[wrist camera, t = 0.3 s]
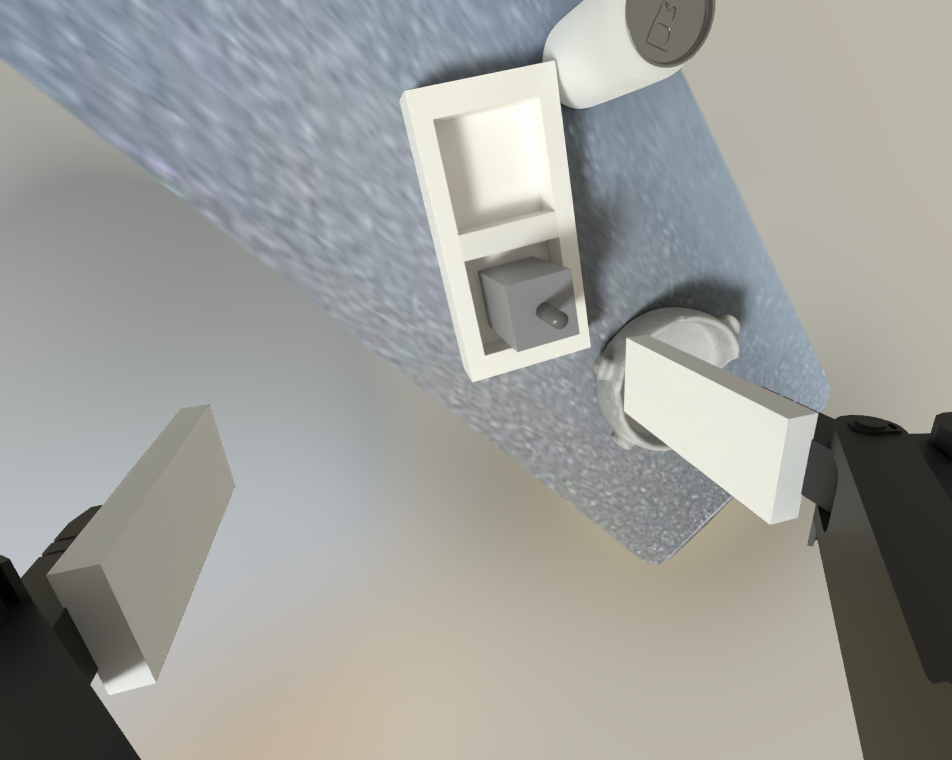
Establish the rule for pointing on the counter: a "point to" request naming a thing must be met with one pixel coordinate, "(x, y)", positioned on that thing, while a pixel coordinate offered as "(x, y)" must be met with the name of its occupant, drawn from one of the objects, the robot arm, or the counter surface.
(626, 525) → the counter surface
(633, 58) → the can
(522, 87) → the white flat tray
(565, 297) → the seated block
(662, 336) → the dish
